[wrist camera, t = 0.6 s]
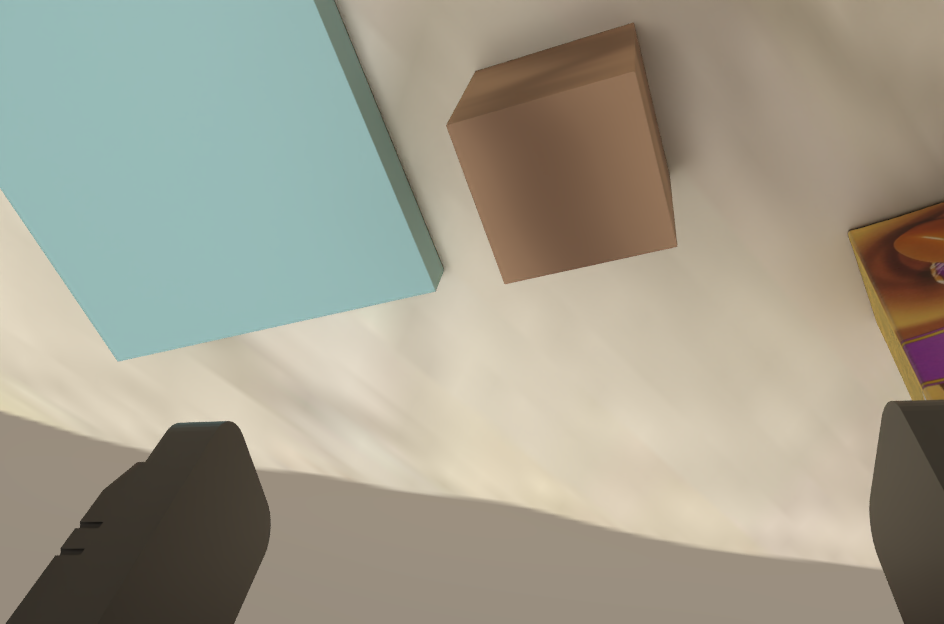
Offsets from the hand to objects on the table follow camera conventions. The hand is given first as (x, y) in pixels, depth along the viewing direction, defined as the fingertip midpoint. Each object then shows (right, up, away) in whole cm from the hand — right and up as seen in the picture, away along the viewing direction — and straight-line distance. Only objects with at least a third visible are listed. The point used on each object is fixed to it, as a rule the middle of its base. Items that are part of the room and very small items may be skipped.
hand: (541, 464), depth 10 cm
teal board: (-11, +8, +18) cm, 22 cm away
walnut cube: (+2, +8, +15) cm, 18 cm away
